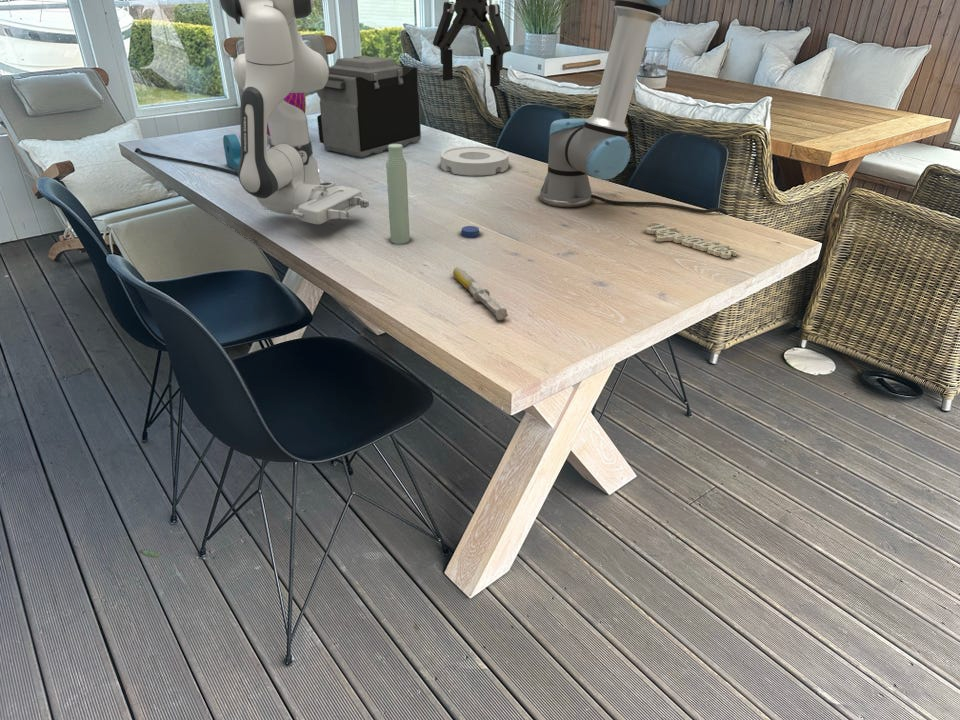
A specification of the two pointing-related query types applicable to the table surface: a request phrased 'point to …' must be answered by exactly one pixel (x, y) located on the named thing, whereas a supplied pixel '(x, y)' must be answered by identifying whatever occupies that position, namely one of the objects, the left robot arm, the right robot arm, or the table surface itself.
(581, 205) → the right robot arm
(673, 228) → the decorative sign
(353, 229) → the table surface
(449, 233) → the table surface
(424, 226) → the table surface
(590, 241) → the table surface
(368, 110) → the electronic device
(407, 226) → the bottle
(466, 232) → the cap
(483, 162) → the ashtray
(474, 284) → the syringe
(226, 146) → the camera mount
